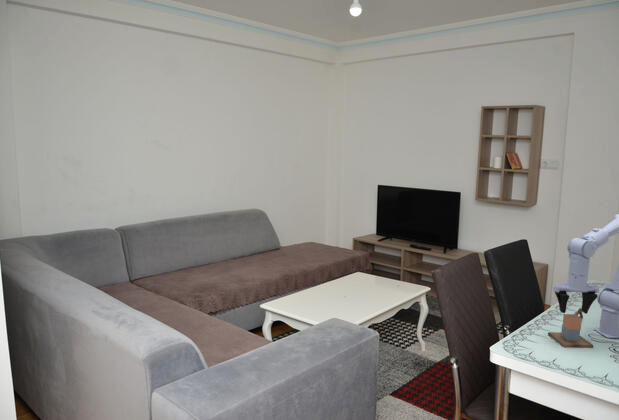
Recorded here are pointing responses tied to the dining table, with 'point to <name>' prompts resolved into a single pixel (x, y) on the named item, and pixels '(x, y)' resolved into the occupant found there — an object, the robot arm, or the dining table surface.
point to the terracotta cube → (572, 321)
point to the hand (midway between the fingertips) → (573, 312)
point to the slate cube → (570, 334)
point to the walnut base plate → (570, 341)
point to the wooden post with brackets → (579, 313)
